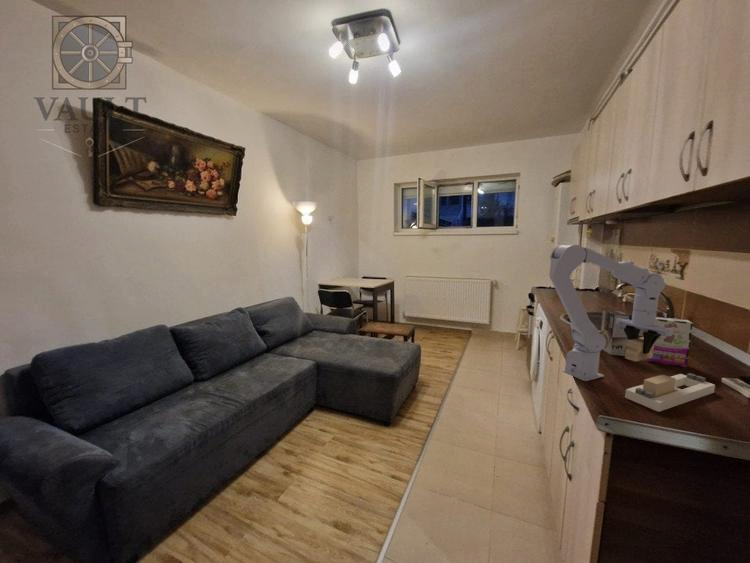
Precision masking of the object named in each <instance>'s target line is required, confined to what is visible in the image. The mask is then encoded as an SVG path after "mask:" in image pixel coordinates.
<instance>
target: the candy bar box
mask: <svg viewBox="0 0 750 563" xmlns="http://www.w3.org/2000/svg"><path fill="white" fill-rule="evenodd" d="M693 324H694V323H693V322H692V321H691V320H690V319H681V318H669V317H661V316H660V317H659V316H656V321H655V325H658V326H662V327H665V328H669V329H673V334H672V336H665V335H663V334H661V336H660V337H659V338H658V339H657V340H656V341H655V343H654V349H653V356H652V358H648V359H645V361H646V362H650V363H654V364H662V365H668V366H674V367H675V366H676V367H682V368H687V367H688V362H689V353H690V346H691V339H692V331H693ZM646 332H648V331H646Z"/></svg>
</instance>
